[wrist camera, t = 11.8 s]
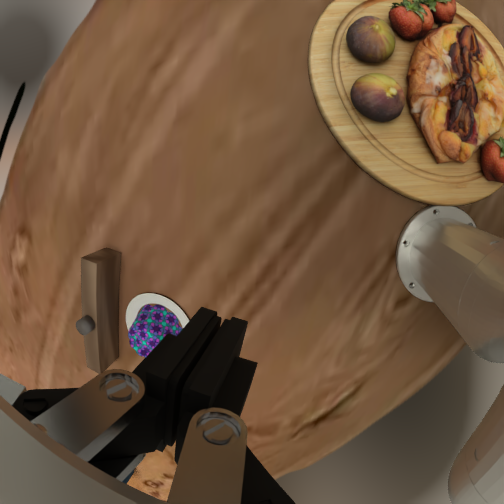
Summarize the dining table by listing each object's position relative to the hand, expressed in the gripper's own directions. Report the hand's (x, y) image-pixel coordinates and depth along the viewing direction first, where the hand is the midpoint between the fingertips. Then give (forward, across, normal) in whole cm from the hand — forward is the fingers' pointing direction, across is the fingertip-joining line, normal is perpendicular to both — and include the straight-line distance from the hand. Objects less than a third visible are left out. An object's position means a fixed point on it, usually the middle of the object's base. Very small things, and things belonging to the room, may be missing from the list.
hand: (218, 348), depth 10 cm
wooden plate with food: (+28, -14, -23) cm, 39 cm away
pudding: (+28, +15, +20) cm, 37 cm away
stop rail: (+27, +24, +20) cm, 41 cm away
